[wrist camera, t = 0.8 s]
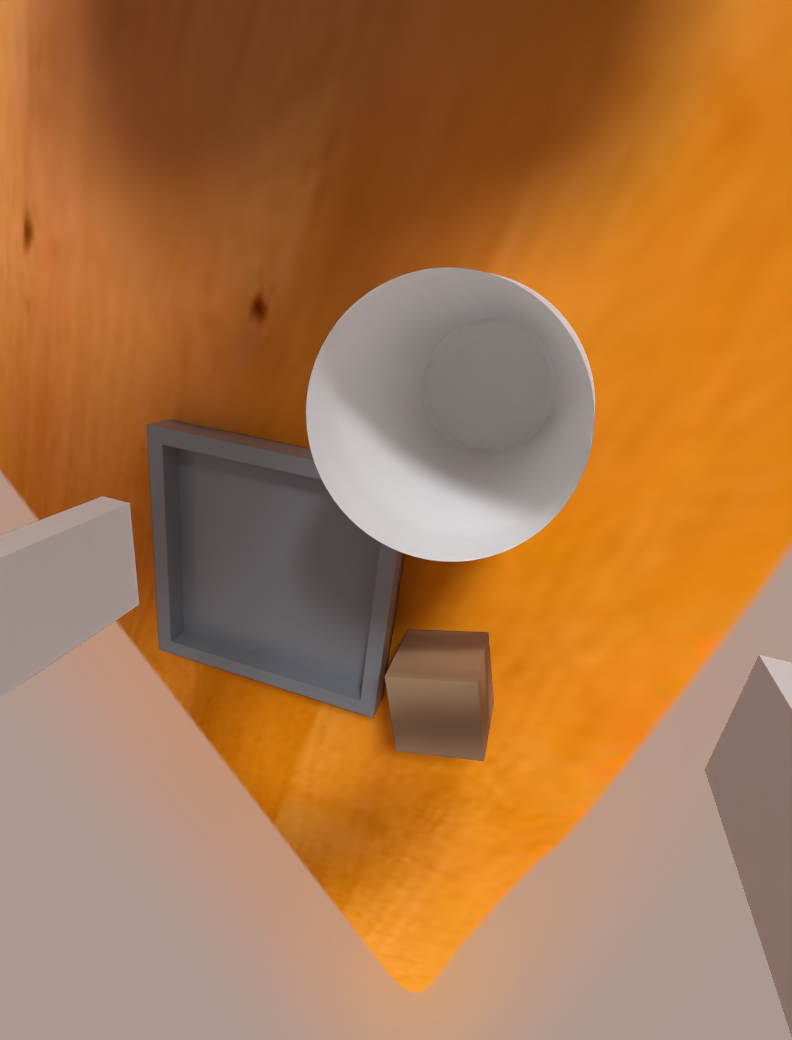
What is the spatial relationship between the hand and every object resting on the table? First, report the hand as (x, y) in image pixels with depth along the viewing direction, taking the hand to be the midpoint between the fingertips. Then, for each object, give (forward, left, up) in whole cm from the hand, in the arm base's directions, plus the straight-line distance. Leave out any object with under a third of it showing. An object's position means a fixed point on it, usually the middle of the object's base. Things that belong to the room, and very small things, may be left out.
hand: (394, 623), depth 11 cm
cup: (-3, -1, -18) cm, 19 cm away
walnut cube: (+14, 0, -18) cm, 23 cm away
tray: (+10, -12, -18) cm, 24 cm away
